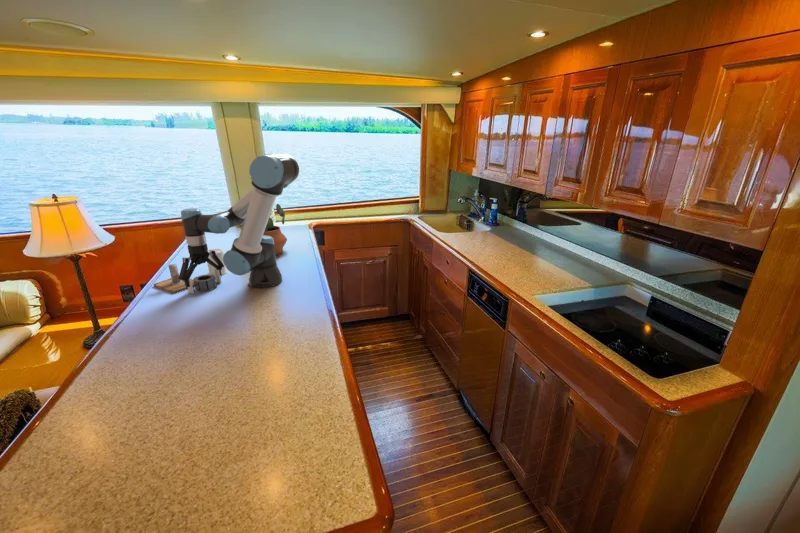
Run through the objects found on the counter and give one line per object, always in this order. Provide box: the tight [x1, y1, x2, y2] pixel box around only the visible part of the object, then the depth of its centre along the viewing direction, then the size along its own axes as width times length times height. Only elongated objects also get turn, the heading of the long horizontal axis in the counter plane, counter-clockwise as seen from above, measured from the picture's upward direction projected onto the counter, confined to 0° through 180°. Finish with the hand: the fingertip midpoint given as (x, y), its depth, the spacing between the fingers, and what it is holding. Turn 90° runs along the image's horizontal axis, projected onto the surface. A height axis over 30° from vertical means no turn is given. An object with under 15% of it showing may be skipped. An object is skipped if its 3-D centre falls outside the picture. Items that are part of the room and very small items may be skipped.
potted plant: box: [263, 203, 288, 256], centre depth 198 cm, size 23×28×30 cm
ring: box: [192, 273, 218, 293], centre depth 155 cm, size 8×8×5 cm
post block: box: [153, 263, 195, 294], centre depth 156 cm, size 16×12×10 cm
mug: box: [206, 248, 229, 276], centre depth 169 cm, size 12×8×12 cm
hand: (205, 287), depth 156 cm, fingers open, 13 cm apart
